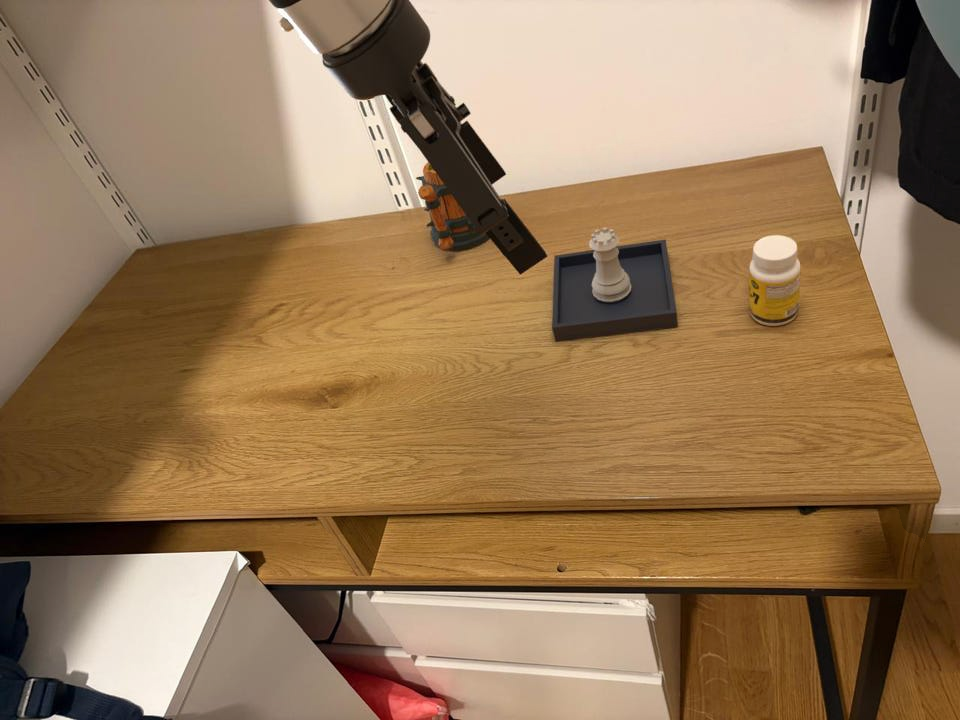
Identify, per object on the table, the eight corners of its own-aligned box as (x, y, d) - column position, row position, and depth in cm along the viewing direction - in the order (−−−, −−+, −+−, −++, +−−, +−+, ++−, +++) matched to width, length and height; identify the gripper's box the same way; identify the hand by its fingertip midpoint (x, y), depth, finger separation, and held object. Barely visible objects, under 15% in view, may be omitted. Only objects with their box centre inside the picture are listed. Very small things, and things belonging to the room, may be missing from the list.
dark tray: (677, 327, 79) (676, 312, 78) (555, 341, 82) (551, 327, 81) (666, 253, 88) (665, 239, 87) (557, 269, 92) (554, 255, 90)
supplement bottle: (746, 299, 80) (746, 235, 74) (794, 295, 78) (797, 229, 73) (752, 329, 76) (752, 264, 71) (801, 325, 75) (805, 258, 69)
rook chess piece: (623, 307, 83) (614, 249, 77) (586, 301, 85) (575, 244, 79) (637, 282, 85) (630, 224, 80) (601, 277, 87) (591, 220, 82)
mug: (443, 210, 108) (420, 139, 101) (509, 208, 104) (490, 133, 97) (412, 266, 100) (384, 192, 92) (482, 265, 96) (459, 188, 88)
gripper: (306, -2, 62) (450, 174, 76) (331, 135, 44) (512, 331, 58) (377, -62, 60) (511, 130, 74) (432, 56, 42) (594, 278, 56)
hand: (512, 219), depth 66 cm, fingers open, 13 cm apart
